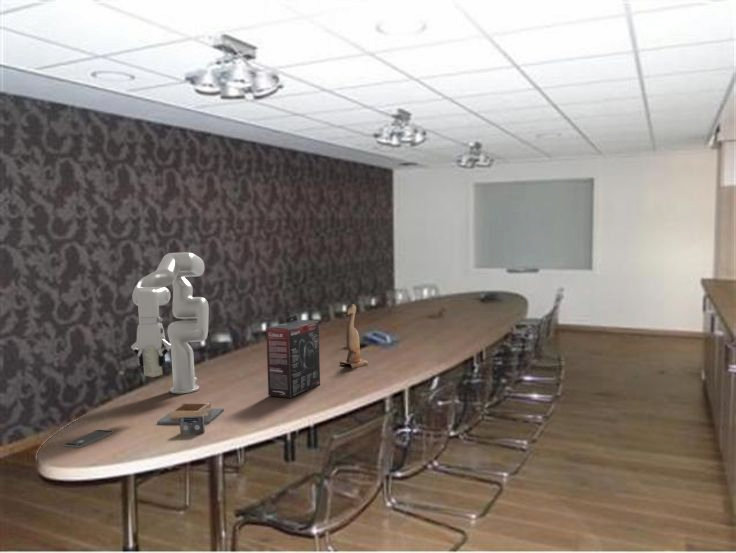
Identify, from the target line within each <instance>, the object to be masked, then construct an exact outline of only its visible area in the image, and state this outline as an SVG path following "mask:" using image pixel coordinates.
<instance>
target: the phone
mask: <svg viewBox="0 0 736 553" xmlns="http://www.w3.org/2000/svg"><path fill="white" fill-rule="evenodd" d="M112 434H114V432H113V430H106V429H97V430H94V431H92V432H89V433H87V434H84V435H82V436H80V437H78V438H77V437H76V438H75V439H72V440H70V441H68V442H66V443H64V447H67V448H77V449H80V448H84V447H87V446H88V445H90V444H93V443H95V442H97V441H99V440H101V439H104V438H106V437H108V436H110V435H112Z"/></svg>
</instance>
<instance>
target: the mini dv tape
mask: <svg viewBox="0 0 736 553" xmlns="http://www.w3.org/2000/svg"><path fill="white" fill-rule="evenodd" d="M179 419H180V424H179V431H180V435H195V434H196V435H197V434H201V435H203V434H205V431H206V430H205V428H206V427H205V424H204V416H193V417H180V418H179Z"/></svg>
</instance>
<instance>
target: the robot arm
mask: <svg viewBox="0 0 736 553" xmlns="http://www.w3.org/2000/svg"><path fill="white" fill-rule="evenodd" d="M205 270H206V269H205V262H204V260H203V259H202V258H201V257H199V256H198V255H197V254H195V253H192V252H190V251H189V252H169V253H167V254H165V255H164V256H163V257H162V260H160V263H159V264H158V267H157V268H156V270H155V271H152V272H151V273H149V274H148V275H145V276H144V277H141V279H139V281H138V282H137V283H136V285H135V287H134V289H133V291H132V298H131V299H132V301H133V303H134V305H136V306H137V308H138V309H137V310H138V325H137V329H136V341H135V342H134V343H133V344H132V345H131V346H130V348H131V349H132V350H133V352H134V353H135V354H136V355H137V357H138V361H139V362H138V363H139V366H140V367H141V368H142V367H144V366H143V355H142V352H143V350H147V346H154V350H157V351H158V353H159V354H160V356H159V366H162V367H163V366H165V364H166V355H167V353H168V352H169V351H170V353H171V354H170V355H171V367H172V368H171V370H172V387H171V388H170V389H169V392H170V393H171V394H174V395H175V394H176V395H178V394H181V395H182V394H189V393H193V392H194V393H195V392H197V391H198V390H199V389H200V386H199V385H198V384H196V381H198V378H197V377H196V374H195V359H194V350H193V348H192V346H191V345H190V344H189V343H194V342H196V343H197V342H204V341H206V340H207V338H208V334H209V315H210V314H209V312H210V310H209V309H210V308H209V307H210V306H209V302H208V300H207V299H206V298H205V297H202V296H193V292H194V291H193V290H194V288H193V285H192V284H191V282H190V281H189V280H188V279H187V278H190V277H191V278H192V277H201V276H202V275H203V274H204V272H205ZM171 285H172V289H173V290H172V292H173V293H172V296H171V291H170V290H169V288H167V287H168V286H171ZM171 298H172V316H173V317H174V318H176V319H196V320H178V321H177V320H176V321H173V322H171V323H169V324H168V326H167V337H168V340H169V342H168V341H167V339H166V336H165V330H164V326H163V323H161V322H163V317H161V316H160V310H159V309H160V308H159V306H166V305H167V304H168V303H169V302H170V300H171ZM164 348H165V349H164Z"/></svg>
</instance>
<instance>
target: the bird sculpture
mask: <svg viewBox="0 0 736 553" xmlns="http://www.w3.org/2000/svg"><path fill="white" fill-rule="evenodd" d="M356 313H357V306H356V304H354V303H353V304H351V306H350V307H349V308H348V309H347V311H346V316H349V319H348V322H347V326H346V333H345V335H346V337H345V339H346V342H345V343H346V349H347V351H348V352H347V356H346V360H345V359H344V360H341V361H339V365H340V366H342V365H346V364H348V365H350V366H351V369H355V368H360V367H364V366H369V361H368V360H367V359H363V358H361V348H360V347H361V346H360V335H359V332H358V330H357V328H355V316H356Z"/></svg>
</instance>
